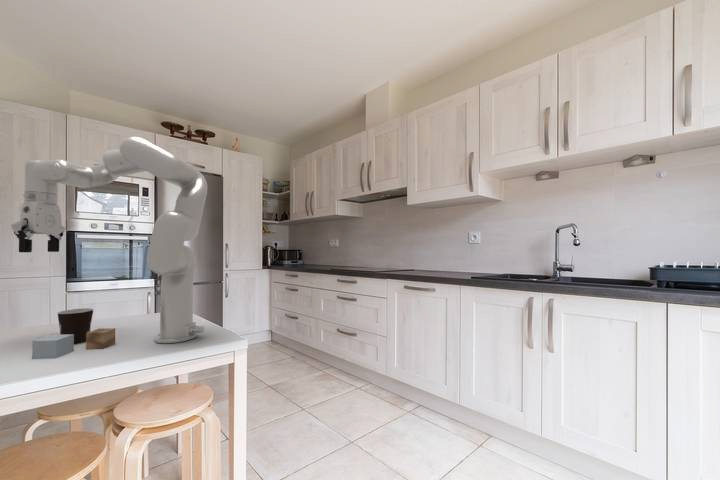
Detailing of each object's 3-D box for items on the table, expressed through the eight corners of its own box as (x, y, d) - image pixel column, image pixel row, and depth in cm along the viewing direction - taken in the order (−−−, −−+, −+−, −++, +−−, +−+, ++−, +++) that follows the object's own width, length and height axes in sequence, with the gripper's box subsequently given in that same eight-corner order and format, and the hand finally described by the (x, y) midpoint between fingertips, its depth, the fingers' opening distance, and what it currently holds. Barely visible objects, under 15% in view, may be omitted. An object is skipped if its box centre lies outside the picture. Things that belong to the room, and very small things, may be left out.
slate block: (73, 351, 92) (73, 334, 92) (55, 358, 86) (56, 340, 86) (51, 351, 92) (51, 334, 92) (32, 359, 86) (32, 340, 86)
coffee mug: (85, 344, 98) (86, 312, 98) (50, 347, 95) (51, 314, 95) (100, 334, 109) (101, 305, 109) (69, 337, 106) (70, 307, 106)
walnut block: (115, 344, 99) (115, 328, 99) (103, 349, 94) (104, 332, 94) (98, 344, 99) (98, 328, 99) (85, 349, 94) (86, 332, 94)
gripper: (27, 195, 93) (26, 252, 93) (75, 203, 110) (74, 251, 110) (0, 194, 92) (-2, 252, 92) (52, 203, 109) (51, 251, 109)
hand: (40, 252), depth 101 cm, fingers open, 9 cm apart
